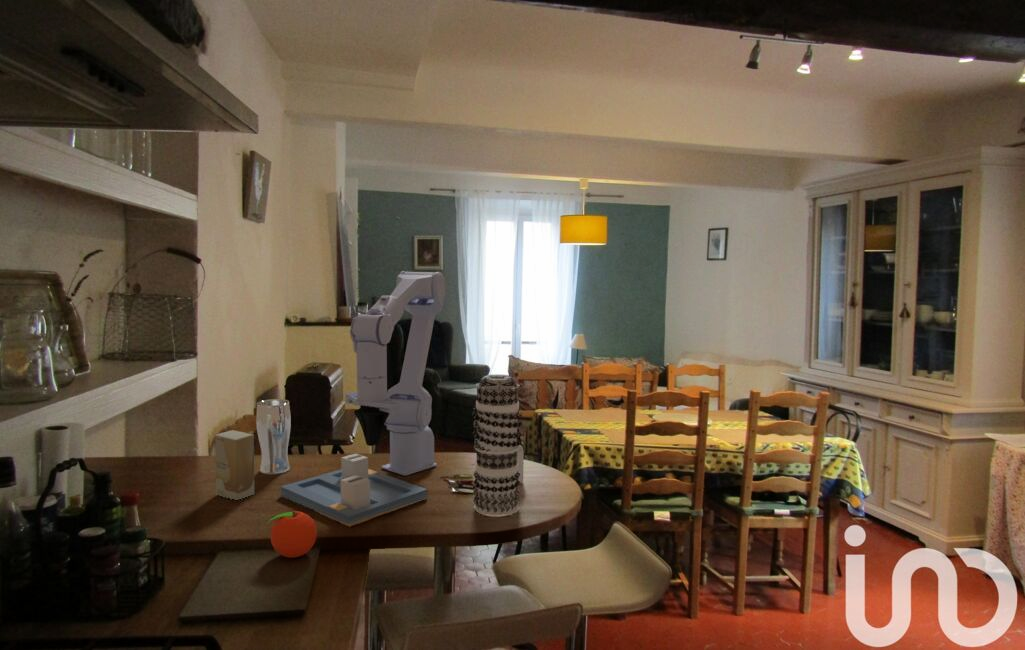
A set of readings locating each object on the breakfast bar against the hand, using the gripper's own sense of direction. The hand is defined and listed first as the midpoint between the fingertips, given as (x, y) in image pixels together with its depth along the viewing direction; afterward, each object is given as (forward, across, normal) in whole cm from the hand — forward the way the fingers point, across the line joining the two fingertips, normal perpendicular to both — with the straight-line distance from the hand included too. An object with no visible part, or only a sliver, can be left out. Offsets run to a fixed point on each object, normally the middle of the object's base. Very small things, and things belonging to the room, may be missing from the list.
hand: (372, 444), depth 133 cm
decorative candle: (+10, +23, +10) cm, 27 cm away
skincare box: (+10, -19, -18) cm, 28 cm away
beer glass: (+10, -27, -6) cm, 29 cm away
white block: (+9, -6, 0) cm, 10 cm away
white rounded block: (+10, +16, +22) cm, 29 cm away
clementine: (+10, +12, -26) cm, 30 cm away
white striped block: (+9, +5, -8) cm, 13 cm away
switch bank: (+10, -1, -4) cm, 11 cm away
